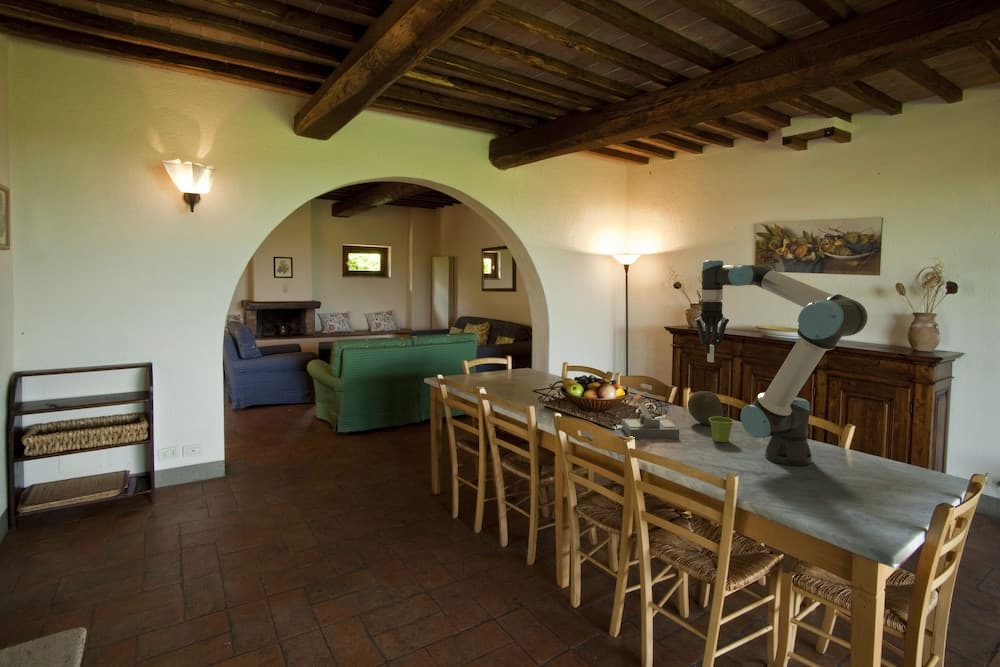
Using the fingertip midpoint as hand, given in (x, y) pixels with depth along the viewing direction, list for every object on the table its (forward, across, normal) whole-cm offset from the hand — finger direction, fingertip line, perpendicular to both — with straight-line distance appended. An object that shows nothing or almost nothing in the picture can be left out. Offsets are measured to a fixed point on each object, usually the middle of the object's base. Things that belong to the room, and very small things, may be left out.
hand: (710, 361), depth 218 cm
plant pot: (+33, -7, -6) cm, 34 cm away
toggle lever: (+28, +18, -16) cm, 37 cm away
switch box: (+33, +19, -16) cm, 41 cm away
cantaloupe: (+33, -9, -28) cm, 44 cm away
